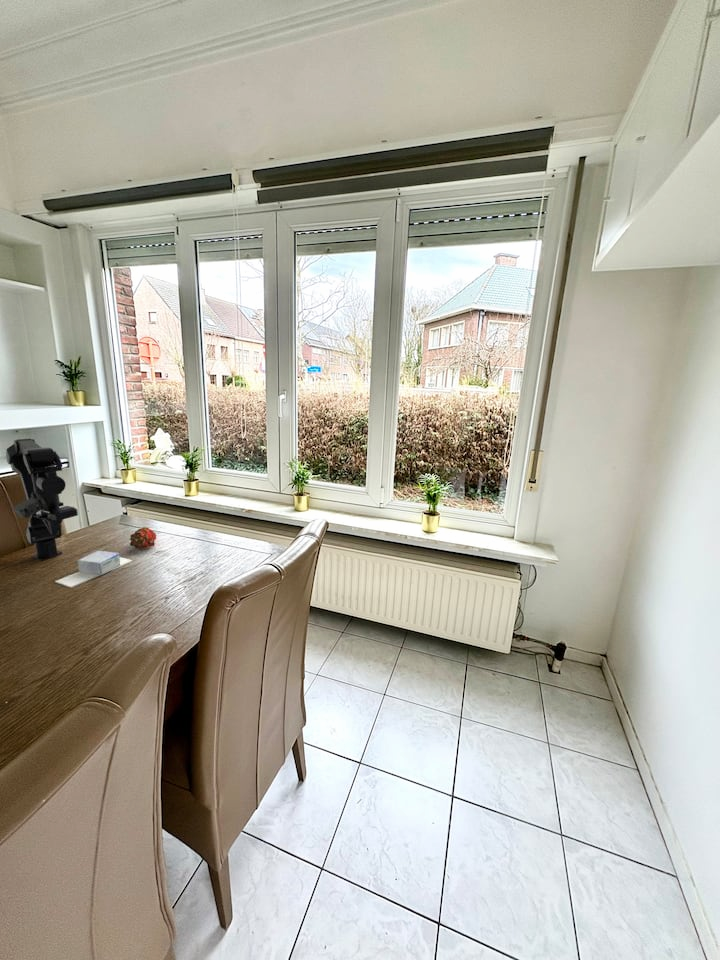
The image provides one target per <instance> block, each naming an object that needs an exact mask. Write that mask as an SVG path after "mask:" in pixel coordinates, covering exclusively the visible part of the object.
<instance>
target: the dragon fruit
mask: <svg viewBox="0 0 720 960" xmlns="http://www.w3.org/2000/svg"><path fill="white" fill-rule="evenodd" d="M129 537H130V538H129V541H130V542H129V546H132V547H134V548H135V549H138V550H143V551H145V550H147V548H151V547H154V546H155V544H156V543H155V541H156V539H157V534H156V532H154V530H152V529H151V528H149V527H146V526H143V527H141V528H138V529H137V530H135V532H133V533H132V534H130V536H129Z"/></svg>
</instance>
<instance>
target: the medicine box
mask: <svg viewBox="0 0 720 960" xmlns="http://www.w3.org/2000/svg"><path fill="white" fill-rule="evenodd" d="M120 557H121V556H120V553H119V552H111V551H104V550H96V551H94V552H92V553H90V554H87V555H85V556H84V557H81V558H80V559H77V564H78V565H77V566H78V572H81V573H89V574H97V575H100V576H103V575H104V574H106V572H107V573H108V571H109V572H111V571H113V570H112V569H113V568H115V567H117V566H119V565H120ZM110 570H111V571H110Z"/></svg>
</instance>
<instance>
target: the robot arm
mask: <svg viewBox="0 0 720 960" xmlns="http://www.w3.org/2000/svg"><path fill="white" fill-rule="evenodd" d="M5 453H6V454H5V458H6V463H7V465H10V467H11V470H12V472H14V473H16V474H17V475H18V476H19V478H20V480H21V483H22V487H23V490H24V494H25V497H26V499H25V500H23V501H22V502H20V503H18V504H16V505H14V506H13V507H12V509H13V511H14V512H15V513H16V515H17V516H18V517H19V518H23V519H28V518H29V521H28V523H27V527H26V534H25V535H26V539H27V541H28V543H29V544H30V545H33V544H34V549H35V554H33V555H31V557H32V558H34V559H37V560H40V561H45V560H48V559H50V558H53V557H57V556H60V555H62V554H63V552H62V551H59V550H58V547H57V542H56V541H57V540H56V539H58V538H59V539H61V538H62V523H63V520H65V519H70V518H73V517H77V516H78V515H79V512H78V509H77V508H75V507H74V506H70V505H65V506H64V502H62V501H60V495H61V494H62V492H64V491H65V489H66V481H65V479H63V478H62V477H61V476H58V473H57V472H60V471H63V469H62V468H63V463H62V461H61V458H60V456H59V454H57V451H55V450H54V449H53V448H51V447H41V446H40V445H39V444H38V443H37V442H36V441H35V439H34V438H19V439H18V438H17V439H16V440H14V441H13V444H12V445H10V446H9V447H7V448H6V451H5Z"/></svg>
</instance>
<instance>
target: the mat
mask: <svg viewBox="0 0 720 960" xmlns="http://www.w3.org/2000/svg"><path fill="white" fill-rule="evenodd" d="M132 562H133V560H132V559H129V558H125V557H121V556H120V565H119V566H117V567H115V568H113V569H112V570H110V571H108V572H111V571H114V570H116V569H118V568H121V567H122V566H125V565H128V564H129V563H132ZM108 572H106V573H108ZM106 573H105V574H106ZM99 576H101V575H97V574H89V573H81V572H79V571H77V572H75V573H72V574H70V575H66V576H64V577H62V578H60V579H57V580H55V581H54V582H55V583H56V584H59V585H61V586H65V587H67V588H70V589H72V588H75V587H76V586H79V585H81V584H83V583H86V582H87V581H90V580H93V579H95V578H97V577H99Z"/></svg>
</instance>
